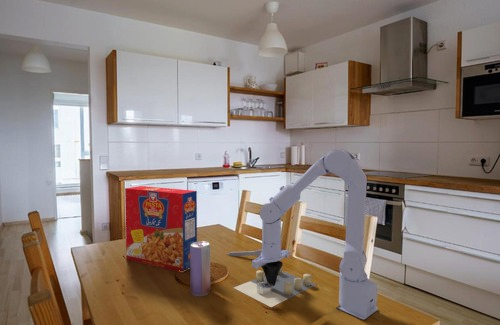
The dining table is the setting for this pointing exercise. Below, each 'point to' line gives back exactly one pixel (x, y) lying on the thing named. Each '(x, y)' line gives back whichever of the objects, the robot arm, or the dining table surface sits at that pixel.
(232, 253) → the caliper
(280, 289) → the board
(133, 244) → the pasta box
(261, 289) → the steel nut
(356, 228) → the robot arm
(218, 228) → the dining table surface
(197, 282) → the beverage can
